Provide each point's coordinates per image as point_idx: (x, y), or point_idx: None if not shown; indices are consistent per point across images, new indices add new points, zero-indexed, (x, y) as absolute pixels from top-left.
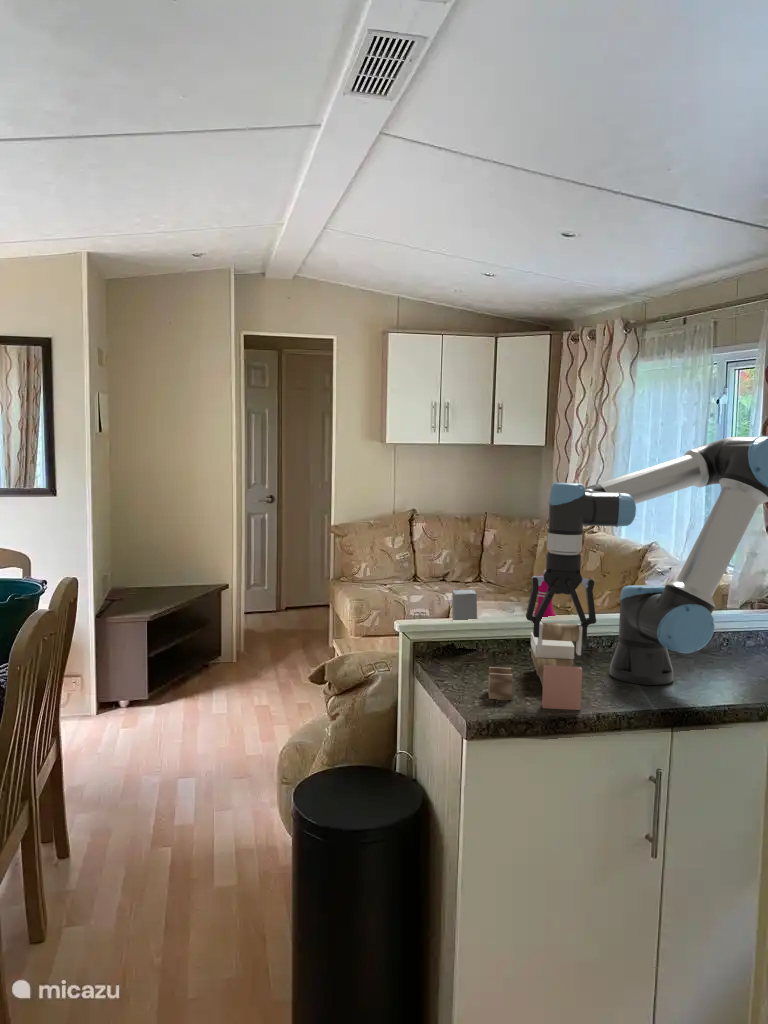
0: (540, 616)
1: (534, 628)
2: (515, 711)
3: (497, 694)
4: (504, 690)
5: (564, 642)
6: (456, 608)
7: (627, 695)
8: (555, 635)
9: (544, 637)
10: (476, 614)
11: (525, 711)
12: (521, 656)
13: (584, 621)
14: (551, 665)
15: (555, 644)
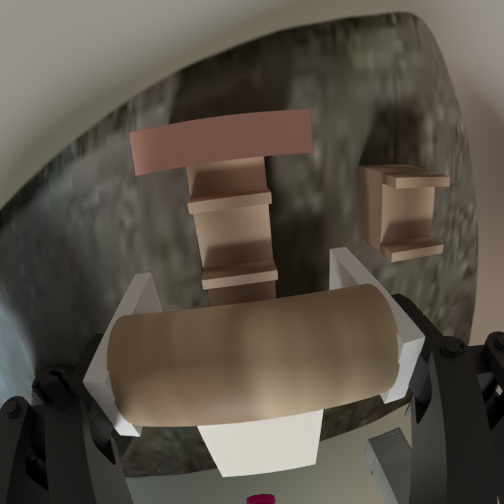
0: (453, 384)
1: (428, 323)
2: (347, 79)
3: (398, 166)
4: (389, 168)
5: (225, 431)
6: None
7: (72, 299)
8: (286, 300)
9: (353, 286)
10: (389, 482)
11: (322, 82)
12: None
13: (61, 415)
14: (276, 153)
15: None
